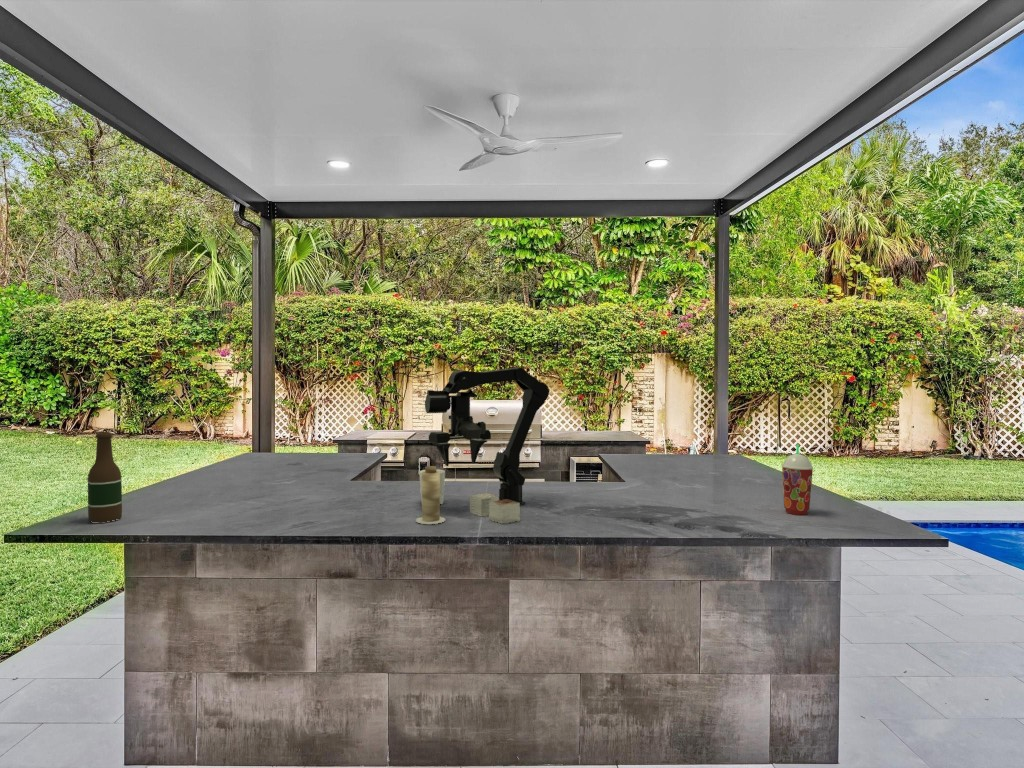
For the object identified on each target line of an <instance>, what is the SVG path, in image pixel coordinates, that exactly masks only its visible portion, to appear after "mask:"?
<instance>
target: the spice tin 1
mask: <svg viewBox="0 0 1024 768" xmlns="http://www.w3.org/2000/svg"><path fill="white" fill-rule="evenodd" d="M498 500H499V495H494V494H491V493H488V492H486V493H485V492H484V493H480V494H478V493H477V494H471V495H469V513H470V514H471V515H472V514H473V515H474V516H478V517H480V516H481V518H483V517H487V516H488V517H489V502H491V501H498ZM482 516H483V517H482Z"/></svg>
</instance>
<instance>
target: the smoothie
mask: <svg viewBox="0 0 1024 768" xmlns="http://www.w3.org/2000/svg"><path fill="white" fill-rule="evenodd" d="M795 446H796V451H795V452H796V453H793V454H790V455H789V456H788V455H787V457H786V458H785V460H784V461H783V463H782V464H781V471H782V472H781V473H782V491H783V493H782V494H783V507H784V509H785V512H786V513H787V514H790V515H795V516H804V515H807V514H808V513H809V512H808V511H809V510H810V508H811V507H810V506H811V498H812V497H811V495H812V494H811V493H812V484H813V483H812V481H813V472H814V471H813V470H814V466H813V465H812V463H811V461H810V459H809V458H808V457H807V456H805V455H803V454H800V453H799V452H800V445H799V444H796V445H795Z"/></svg>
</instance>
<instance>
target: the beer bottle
mask: <svg viewBox="0 0 1024 768" xmlns="http://www.w3.org/2000/svg"><path fill="white" fill-rule="evenodd" d="M112 437H113V434H112V432H107V431H104V432H98V433H96V435H95V438H96V452H95V461H94V463H93V465H92V467H91V468H90V470H89V472H88V475H87V516H88V517H87V518H88V521H89V520H90V521H92V522H107V521H112V520H116V519H119V518H121V517H122V516H123V495H122V494H123V493H122V492H123V491H122V490H123V489H122V473H121V469H120V468H119V466H118V465H117V464H116V462H115V461H114V455H113V447H112ZM121 519H122V518H121Z"/></svg>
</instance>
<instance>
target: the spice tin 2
mask: <svg viewBox="0 0 1024 768" xmlns="http://www.w3.org/2000/svg"><path fill="white" fill-rule="evenodd" d="M520 505H521V504H520V503H518V502H515V501H512V500H508V499H504V500H498V501H491V502H489V516H488V520H489V519H490V520H489V521H491V520H492V521H491V522H494V521H495V523H497V522H498V523H497V524H500V523H501V524H500V525H504V524H503V523H506V524H510V523H509V522H511V523H516V522H515V521H517V522H520V519H521V518H520V517H521V516H520V514H521V513H520V512H521V511H520V509H521V507H520Z"/></svg>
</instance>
